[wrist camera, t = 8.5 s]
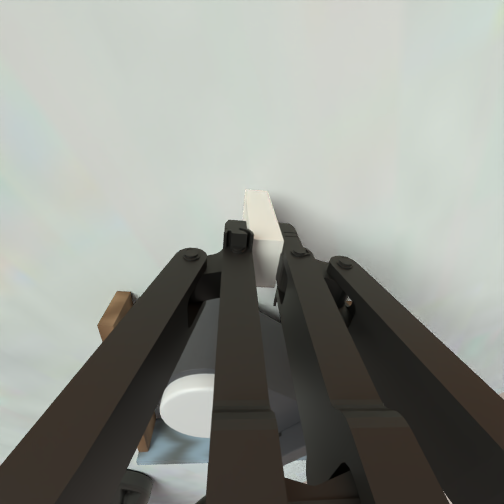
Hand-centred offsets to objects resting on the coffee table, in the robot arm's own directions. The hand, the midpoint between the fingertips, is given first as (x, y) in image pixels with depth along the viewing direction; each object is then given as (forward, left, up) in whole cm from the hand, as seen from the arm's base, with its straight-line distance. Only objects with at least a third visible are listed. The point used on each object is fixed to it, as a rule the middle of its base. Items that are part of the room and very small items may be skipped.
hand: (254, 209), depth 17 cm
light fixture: (0, -14, -3) cm, 14 cm away
